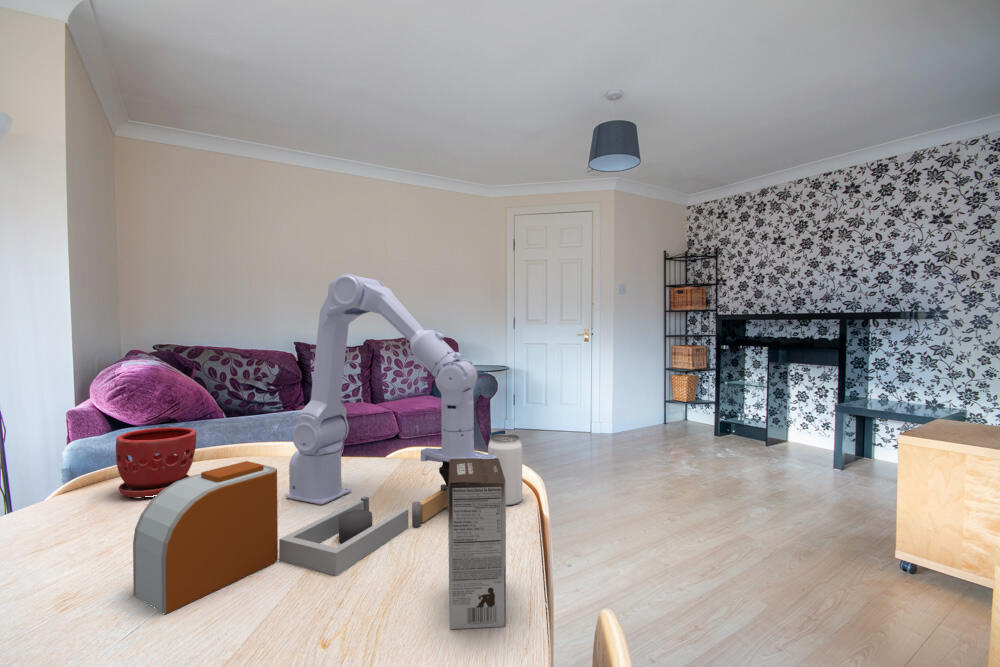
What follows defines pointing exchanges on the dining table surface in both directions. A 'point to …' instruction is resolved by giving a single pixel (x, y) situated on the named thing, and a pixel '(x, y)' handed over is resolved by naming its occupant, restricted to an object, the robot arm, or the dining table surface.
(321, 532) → the grey frame
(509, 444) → the can
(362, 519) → the dark grey cylinder
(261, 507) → the grey and orange block
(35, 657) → the dining table surface
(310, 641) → the dining table surface
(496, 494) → the coffee box
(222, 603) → the dining table surface
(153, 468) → the plant pot
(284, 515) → the dining table surface
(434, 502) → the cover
